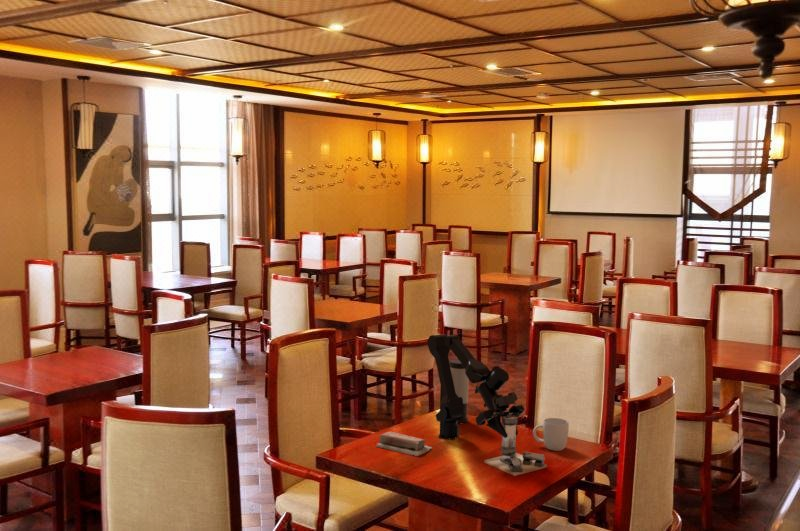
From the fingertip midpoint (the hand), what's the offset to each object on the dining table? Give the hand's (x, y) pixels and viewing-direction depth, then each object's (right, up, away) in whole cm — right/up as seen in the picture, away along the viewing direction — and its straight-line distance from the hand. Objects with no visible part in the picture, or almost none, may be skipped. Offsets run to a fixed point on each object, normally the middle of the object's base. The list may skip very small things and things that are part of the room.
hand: (511, 436), depth 261 cm
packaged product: (-37, -8, +15) cm, 41 cm away
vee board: (+1, -10, -1) cm, 10 cm away
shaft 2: (+7, -10, -2) cm, 12 cm away
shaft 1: (0, -10, -7) cm, 12 cm away
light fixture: (-16, -5, +50) cm, 52 cm away
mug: (+17, -8, +18) cm, 26 cm away
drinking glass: (-1, -6, +2) cm, 7 cm away
